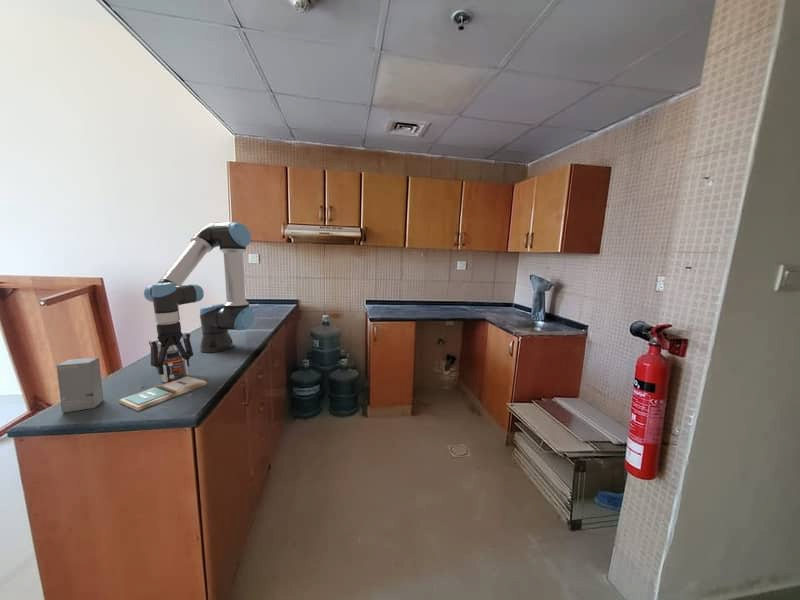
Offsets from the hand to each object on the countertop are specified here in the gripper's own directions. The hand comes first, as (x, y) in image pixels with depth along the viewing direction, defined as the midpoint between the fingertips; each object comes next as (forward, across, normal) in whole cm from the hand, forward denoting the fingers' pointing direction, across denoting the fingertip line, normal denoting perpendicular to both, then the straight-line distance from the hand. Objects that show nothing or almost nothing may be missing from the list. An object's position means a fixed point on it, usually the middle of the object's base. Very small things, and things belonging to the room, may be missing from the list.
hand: (175, 377), depth 123 cm
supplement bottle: (0, 0, 0) cm, 0 cm away
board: (0, +9, +11) cm, 14 cm away
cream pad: (-1, +3, +11) cm, 12 cm away
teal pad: (-1, +14, +11) cm, 18 cm away
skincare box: (+1, +26, -3) cm, 26 cm away
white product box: (0, -7, -21) cm, 22 cm away
